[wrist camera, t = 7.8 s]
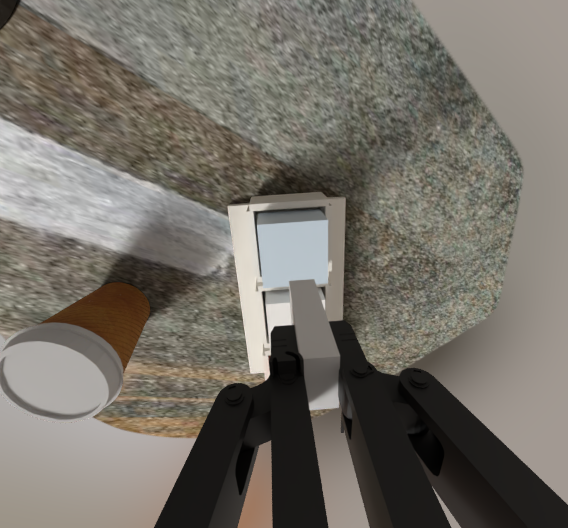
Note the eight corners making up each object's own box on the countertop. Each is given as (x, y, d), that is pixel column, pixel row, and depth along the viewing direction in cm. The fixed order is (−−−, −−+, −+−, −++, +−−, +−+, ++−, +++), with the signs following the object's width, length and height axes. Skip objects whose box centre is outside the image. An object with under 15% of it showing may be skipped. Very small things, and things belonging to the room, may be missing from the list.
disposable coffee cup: (159, 270, 32) (103, 337, 21) (167, 339, 36) (123, 426, 25) (71, 267, 32) (-35, 334, 20) (88, 338, 35) (6, 427, 24)
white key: (266, 284, 30) (265, 304, 27) (318, 280, 30) (325, 299, 27) (270, 328, 33) (270, 352, 29) (319, 324, 33) (325, 347, 29)
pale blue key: (258, 213, 26) (256, 224, 22) (319, 208, 26) (328, 219, 22) (263, 269, 28) (263, 288, 24) (320, 265, 28) (327, 283, 25)
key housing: (227, 196, 29) (220, 206, 25) (343, 188, 30) (357, 197, 25) (251, 372, 39) (249, 403, 34) (339, 365, 39) (349, 395, 34)
